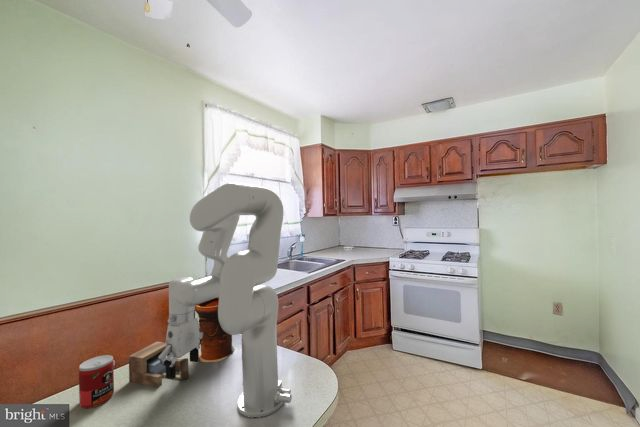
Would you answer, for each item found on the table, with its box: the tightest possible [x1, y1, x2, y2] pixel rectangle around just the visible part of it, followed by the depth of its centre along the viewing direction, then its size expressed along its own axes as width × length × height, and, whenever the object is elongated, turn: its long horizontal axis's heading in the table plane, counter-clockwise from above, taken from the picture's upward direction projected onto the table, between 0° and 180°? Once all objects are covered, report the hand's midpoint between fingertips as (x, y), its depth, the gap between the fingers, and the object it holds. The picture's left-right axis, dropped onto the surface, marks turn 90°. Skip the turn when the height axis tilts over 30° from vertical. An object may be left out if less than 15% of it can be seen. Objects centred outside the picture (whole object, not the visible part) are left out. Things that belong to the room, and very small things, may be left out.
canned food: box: [78, 354, 115, 409], centre depth 77 cm, size 8×8×11 cm
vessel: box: [195, 297, 236, 363], centre depth 102 cm, size 14×14×20 cm
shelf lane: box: [128, 341, 183, 388], centre depth 88 cm, size 12×10×8 cm
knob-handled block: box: [147, 354, 190, 382], centre depth 87 cm, size 16×6×6 cm, turn 74°
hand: (183, 369), depth 85 cm, fingers open, 9 cm apart
